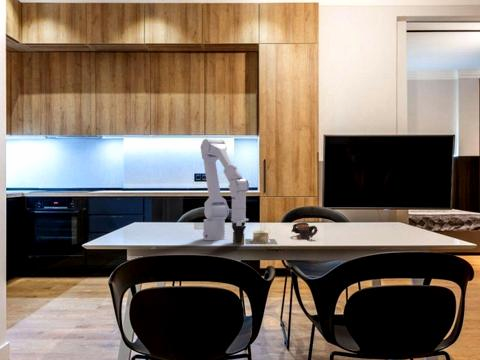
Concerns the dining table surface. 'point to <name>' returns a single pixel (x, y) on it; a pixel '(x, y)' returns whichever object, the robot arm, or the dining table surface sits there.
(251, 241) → the mat
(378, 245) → the dining table surface
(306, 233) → the pottery mug
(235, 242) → the walnut block
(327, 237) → the dining table surface
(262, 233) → the oak block
